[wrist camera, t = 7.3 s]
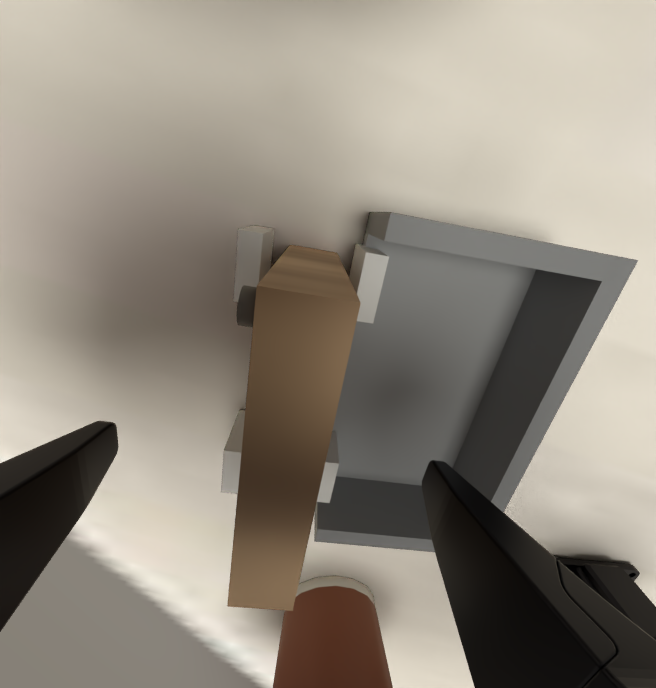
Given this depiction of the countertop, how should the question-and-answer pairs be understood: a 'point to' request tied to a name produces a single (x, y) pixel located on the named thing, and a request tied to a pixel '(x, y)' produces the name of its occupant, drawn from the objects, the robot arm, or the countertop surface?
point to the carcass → (443, 366)
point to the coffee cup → (332, 638)
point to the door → (288, 417)
